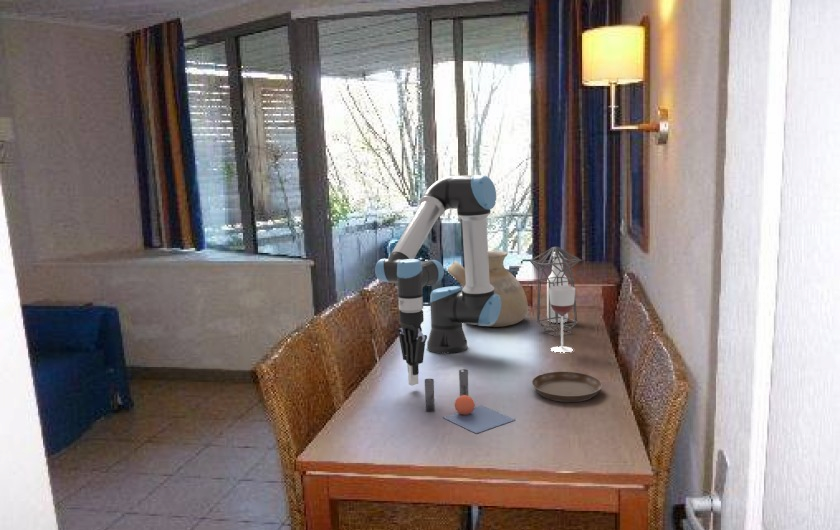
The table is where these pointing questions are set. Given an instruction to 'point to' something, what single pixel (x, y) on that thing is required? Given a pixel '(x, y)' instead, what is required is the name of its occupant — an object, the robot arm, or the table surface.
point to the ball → (464, 404)
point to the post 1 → (429, 395)
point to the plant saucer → (566, 386)
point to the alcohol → (556, 271)
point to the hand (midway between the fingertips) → (413, 383)
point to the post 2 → (463, 382)
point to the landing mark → (479, 419)
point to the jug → (500, 289)
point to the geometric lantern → (557, 252)
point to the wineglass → (562, 308)
